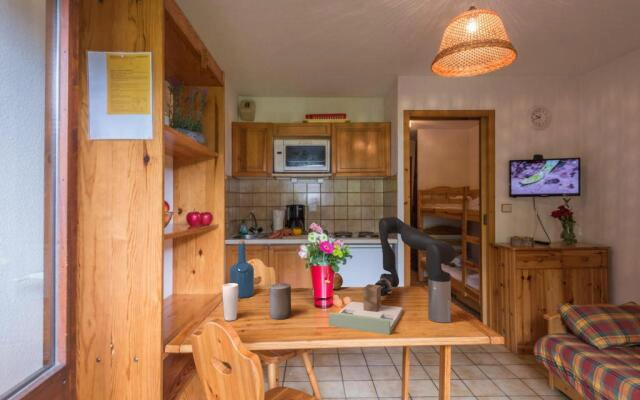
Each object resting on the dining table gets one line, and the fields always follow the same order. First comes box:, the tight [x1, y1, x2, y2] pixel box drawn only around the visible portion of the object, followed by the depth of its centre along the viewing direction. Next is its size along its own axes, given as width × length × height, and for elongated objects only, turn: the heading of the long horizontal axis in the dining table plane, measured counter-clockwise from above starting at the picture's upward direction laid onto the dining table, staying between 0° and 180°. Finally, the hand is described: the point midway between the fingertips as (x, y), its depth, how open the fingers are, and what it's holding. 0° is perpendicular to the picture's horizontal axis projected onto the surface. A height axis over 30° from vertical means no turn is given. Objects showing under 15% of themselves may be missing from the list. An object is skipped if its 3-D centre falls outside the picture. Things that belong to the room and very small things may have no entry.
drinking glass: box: [222, 282, 239, 322], centre depth 149 cm, size 7×7×15 cm
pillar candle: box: [268, 282, 292, 321], centre depth 153 cm, size 10×10×15 cm
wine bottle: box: [228, 240, 255, 299], centre depth 186 cm, size 14×13×30 cm
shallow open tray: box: [328, 301, 404, 336], centre depth 149 cm, size 25×30×5 cm
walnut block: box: [363, 284, 382, 312], centre depth 157 cm, size 6×8×10 cm
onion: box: [333, 272, 344, 291], centre depth 199 cm, size 10×10×10 cm
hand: (374, 295), depth 160 cm, fingers closed
